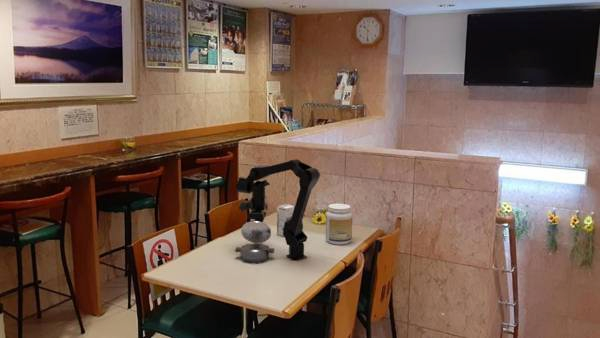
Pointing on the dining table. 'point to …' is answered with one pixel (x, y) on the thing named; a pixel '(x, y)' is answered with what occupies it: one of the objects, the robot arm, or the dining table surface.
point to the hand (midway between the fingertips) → (258, 229)
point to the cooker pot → (255, 252)
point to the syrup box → (283, 217)
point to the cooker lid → (256, 231)
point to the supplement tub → (339, 224)
